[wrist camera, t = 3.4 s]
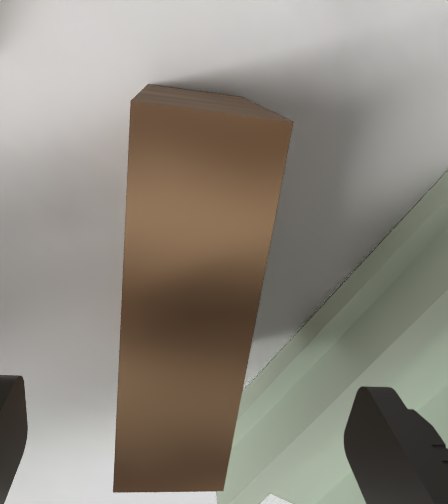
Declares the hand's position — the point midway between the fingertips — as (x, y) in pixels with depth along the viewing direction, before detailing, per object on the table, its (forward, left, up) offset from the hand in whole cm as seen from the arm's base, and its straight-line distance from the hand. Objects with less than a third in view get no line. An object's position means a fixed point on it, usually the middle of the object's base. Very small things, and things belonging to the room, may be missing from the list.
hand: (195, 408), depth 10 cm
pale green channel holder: (0, -15, -12) cm, 20 cm away
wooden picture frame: (0, 0, -13) cm, 13 cm away
